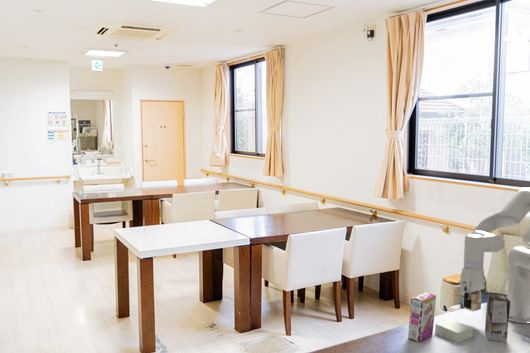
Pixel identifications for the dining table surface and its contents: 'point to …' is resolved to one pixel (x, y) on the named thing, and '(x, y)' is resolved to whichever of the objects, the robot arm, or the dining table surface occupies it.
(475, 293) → the beech block
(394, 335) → the dining table surface
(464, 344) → the dining table surface
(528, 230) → the robot arm
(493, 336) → the coffee box
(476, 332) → the dining table surface
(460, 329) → the sage base block
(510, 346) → the dining table surface
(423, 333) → the candy bar box
